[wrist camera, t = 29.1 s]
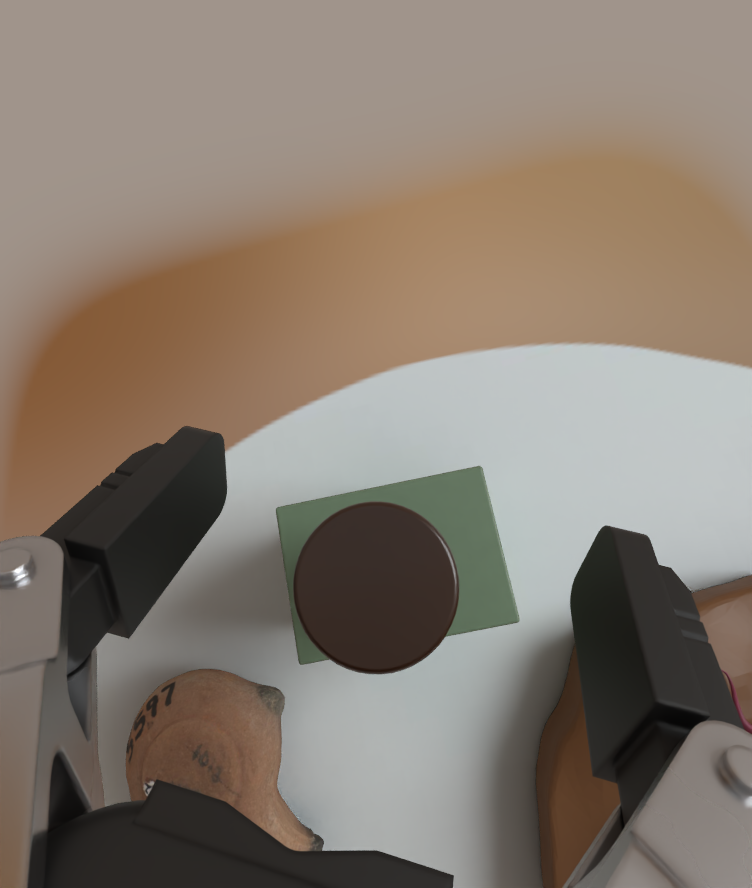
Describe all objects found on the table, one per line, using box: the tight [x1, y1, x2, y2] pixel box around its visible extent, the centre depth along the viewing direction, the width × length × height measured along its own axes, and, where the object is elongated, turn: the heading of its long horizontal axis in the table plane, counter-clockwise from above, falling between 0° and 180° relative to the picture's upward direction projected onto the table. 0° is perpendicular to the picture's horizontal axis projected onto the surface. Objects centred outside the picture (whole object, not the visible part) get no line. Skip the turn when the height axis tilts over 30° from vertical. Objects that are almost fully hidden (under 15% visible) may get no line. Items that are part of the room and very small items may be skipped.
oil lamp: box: [126, 669, 324, 851], centre depth 21 cm, size 9×4×8 cm
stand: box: [276, 466, 519, 665], centre depth 20 cm, size 7×5×8 cm
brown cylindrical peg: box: [293, 501, 459, 674], centre depth 11 cm, size 3×3×9 cm
